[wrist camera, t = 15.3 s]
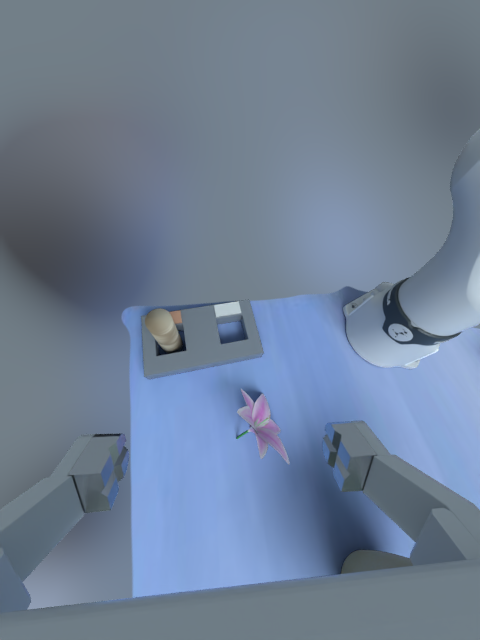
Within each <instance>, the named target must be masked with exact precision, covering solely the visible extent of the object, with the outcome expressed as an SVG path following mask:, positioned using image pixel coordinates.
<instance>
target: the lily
mask: <svg viewBox="0 0 480 640" xmlns="http://www.w3.org/2000/svg"><path fill="white" fill-rule="evenodd" d="M241 392H242V394H243V397H244V399H245V402H246V405H247V406H245V407H242V408H240V409H239V410H238V411H237V413H238V414H239V415H240V416H241V417H242V418H243V419H244V420H245V421H247V422H248V423H249V424H250V429H249V430H247V431H245V432H244V433H242V434H241V435H239V436H238V437H237V438H236V439H238V438H240V437H241V436H243V435H244V434H246V433H248V432H250V431H251V432H254V433H255V435H256V439H257V444H258V449H259V454H260V457H261V459H263V457H264V456H265V454H266V452H267V449H268V444H270V445H271V446H272V447H273V448H274V449H275V450H276V451H277V452H278V453H279V454H280V455H281V456H282V457H283V459H284V460H285V461H286V462H287V463H288V464H289V459H288V456H287V453H286V450H285V448H284V446H283V443H282V442H281V440H280V438H279V437H278V436H277V434H279V433H280V431H281V430H280V428H279V427H278V426H277V424H276V423H275V422H274V421H272V420H271V419H270V409H269V405H268V402H267V400H266V398H265V396H264V394H261V395H260V396H259V398H258V399H257V400H256V402H255V404H254V402H253V400H252V399H251V398H250V397H249V396H248V394H247V393H246V392H245V391H243V390H242V389H241Z"/></svg>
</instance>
